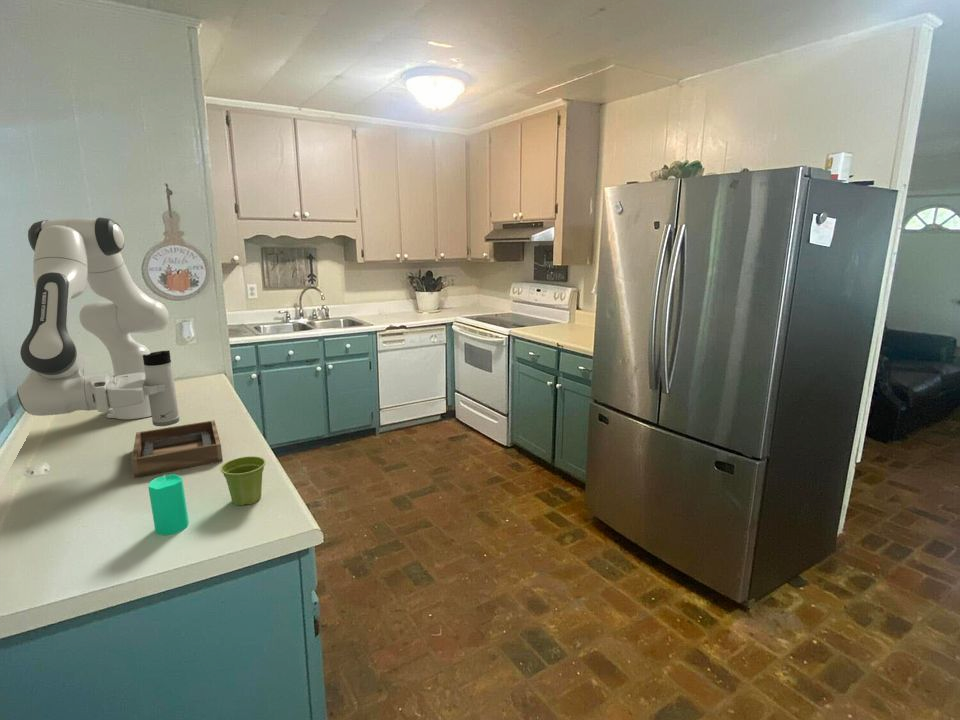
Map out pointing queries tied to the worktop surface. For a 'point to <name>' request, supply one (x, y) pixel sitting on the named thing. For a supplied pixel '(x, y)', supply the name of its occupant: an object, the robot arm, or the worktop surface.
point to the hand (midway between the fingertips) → (165, 384)
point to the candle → (168, 504)
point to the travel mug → (165, 402)
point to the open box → (175, 450)
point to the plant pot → (244, 478)
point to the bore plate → (176, 441)
